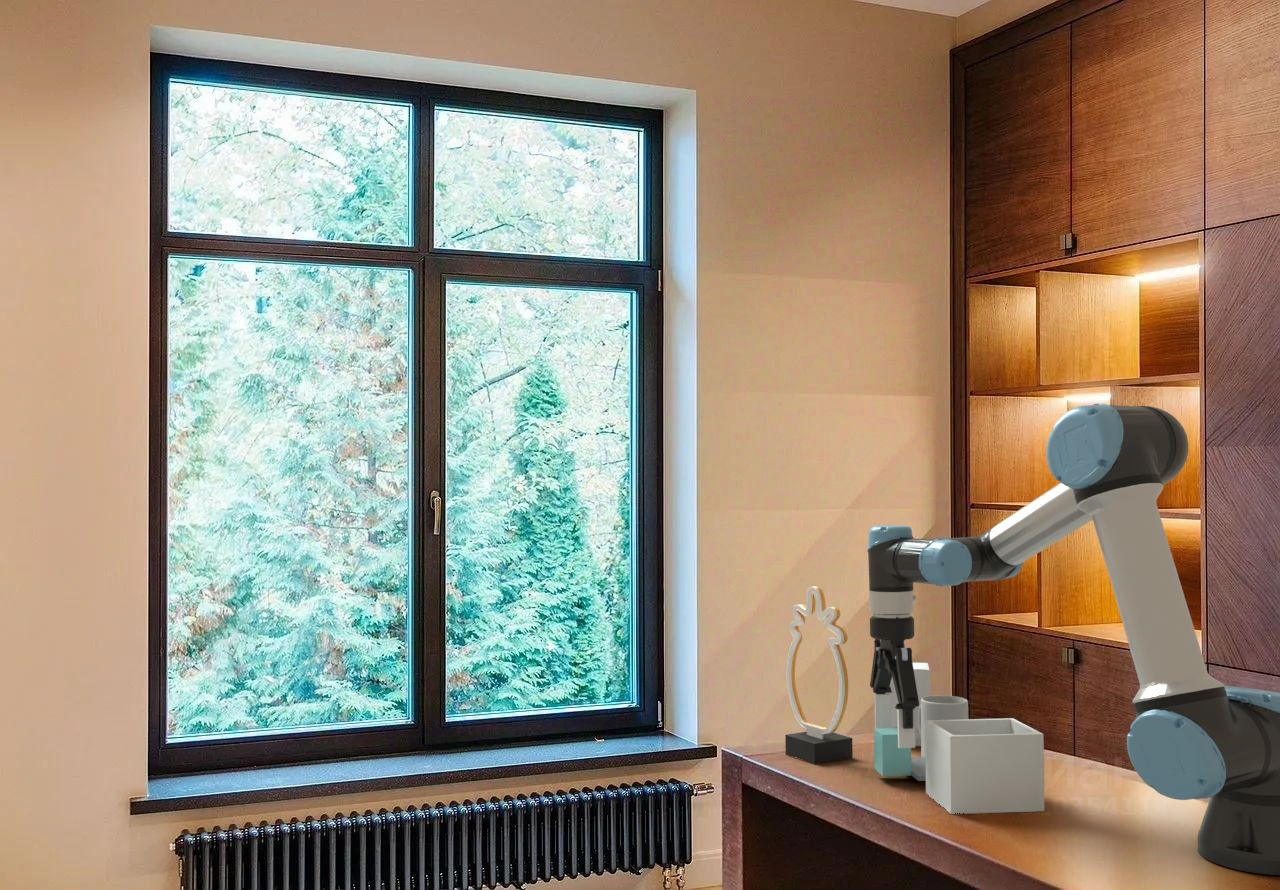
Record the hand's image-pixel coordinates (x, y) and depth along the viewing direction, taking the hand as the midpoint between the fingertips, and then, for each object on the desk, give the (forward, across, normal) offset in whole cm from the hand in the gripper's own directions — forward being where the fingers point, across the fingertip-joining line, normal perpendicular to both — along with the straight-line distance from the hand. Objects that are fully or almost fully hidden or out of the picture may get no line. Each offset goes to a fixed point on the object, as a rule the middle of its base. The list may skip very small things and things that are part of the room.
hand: (894, 739), depth 209 cm
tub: (+7, -14, -10) cm, 19 cm away
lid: (+7, 0, -7) cm, 10 cm away
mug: (+7, +16, -13) cm, 22 cm away
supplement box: (+7, +28, -11) cm, 31 cm away
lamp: (+7, +18, +9) cm, 22 cm away
